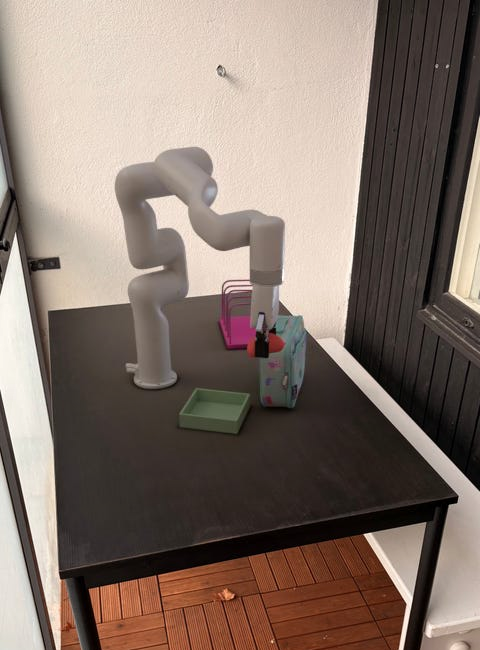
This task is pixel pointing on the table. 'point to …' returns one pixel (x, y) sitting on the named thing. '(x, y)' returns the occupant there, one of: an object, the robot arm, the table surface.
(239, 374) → the table surface
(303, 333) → the lunch box
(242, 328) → the file sorter
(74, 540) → the table surface
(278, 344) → the red oval piece
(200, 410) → the tote
